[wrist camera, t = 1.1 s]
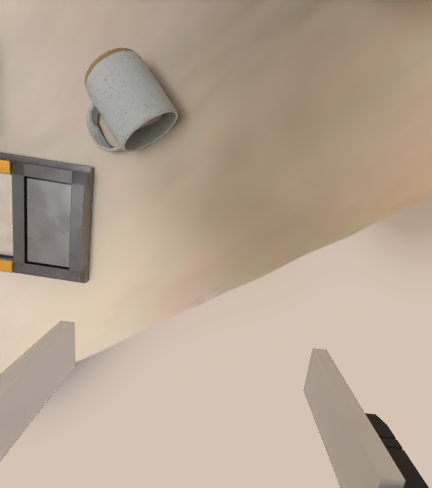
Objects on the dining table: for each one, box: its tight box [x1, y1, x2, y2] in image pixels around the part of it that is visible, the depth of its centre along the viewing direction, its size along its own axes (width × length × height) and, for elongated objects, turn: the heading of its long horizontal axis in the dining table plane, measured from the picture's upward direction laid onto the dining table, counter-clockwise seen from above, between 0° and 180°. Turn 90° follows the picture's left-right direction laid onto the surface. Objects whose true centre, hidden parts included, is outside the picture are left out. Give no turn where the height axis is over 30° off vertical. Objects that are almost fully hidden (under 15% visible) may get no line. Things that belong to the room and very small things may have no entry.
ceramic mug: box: [85, 48, 178, 152], centre depth 31 cm, size 11×8×8 cm
